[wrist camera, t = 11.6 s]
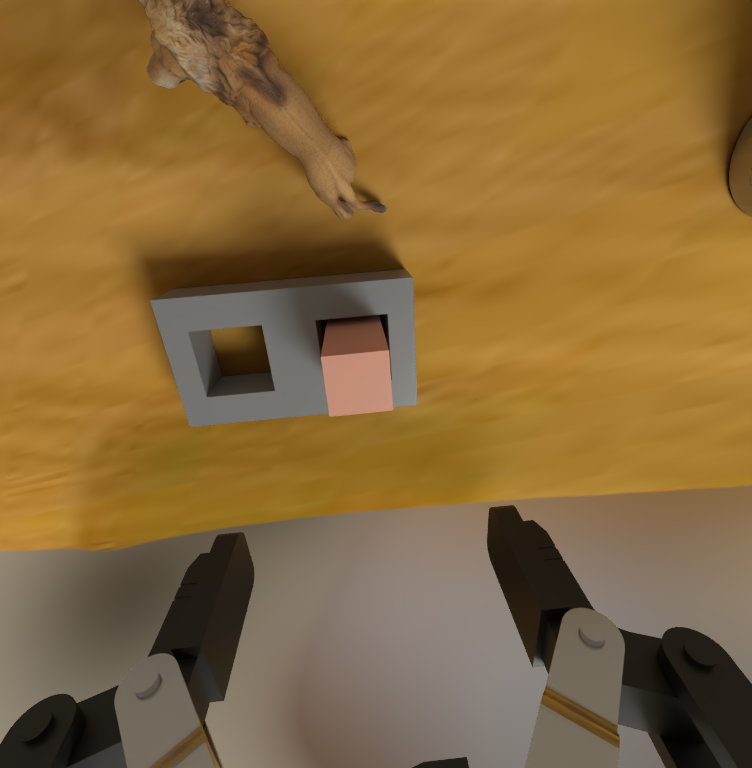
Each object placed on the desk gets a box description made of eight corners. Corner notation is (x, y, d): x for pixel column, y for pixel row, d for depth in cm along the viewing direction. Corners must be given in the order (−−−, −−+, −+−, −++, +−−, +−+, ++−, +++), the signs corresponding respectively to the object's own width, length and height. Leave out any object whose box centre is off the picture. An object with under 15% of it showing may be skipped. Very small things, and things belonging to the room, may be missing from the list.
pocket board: (405, 268, 31) (412, 277, 27) (409, 384, 35) (417, 404, 31) (173, 288, 30) (149, 300, 27) (206, 403, 34) (190, 426, 31)
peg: (377, 309, 32) (389, 350, 23) (380, 355, 34) (393, 410, 24) (328, 313, 32) (320, 356, 23) (334, 359, 33) (329, 416, 24)
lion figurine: (181, 97, 25) (102, 47, 17) (219, 13, 24) (152, -88, 16) (365, 239, 30) (372, 252, 21) (408, 175, 28) (433, 163, 20)
